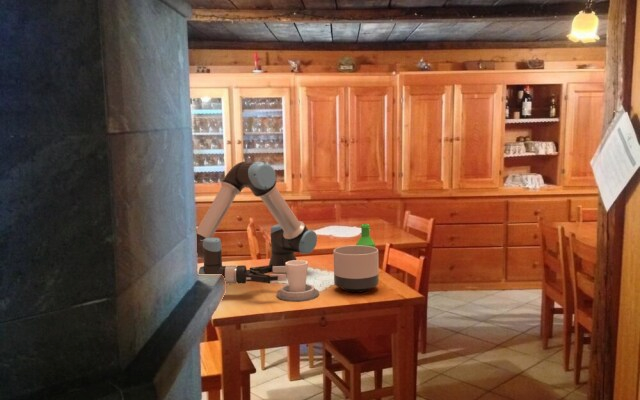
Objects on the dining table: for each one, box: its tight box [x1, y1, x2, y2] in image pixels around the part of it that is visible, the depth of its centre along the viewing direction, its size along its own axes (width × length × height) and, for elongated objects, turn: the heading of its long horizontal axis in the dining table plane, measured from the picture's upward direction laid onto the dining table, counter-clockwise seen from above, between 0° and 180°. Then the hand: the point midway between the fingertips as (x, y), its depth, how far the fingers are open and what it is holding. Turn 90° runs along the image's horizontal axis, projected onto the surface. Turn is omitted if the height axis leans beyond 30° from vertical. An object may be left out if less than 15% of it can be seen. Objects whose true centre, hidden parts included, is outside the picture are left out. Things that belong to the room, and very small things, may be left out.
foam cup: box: [285, 259, 309, 292], centre depth 227 cm, size 10×9×13 cm
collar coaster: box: [276, 283, 320, 302], centre depth 228 cm, size 18×18×3 cm
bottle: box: [355, 223, 376, 248], centre depth 254 cm, size 9×9×25 cm
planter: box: [332, 244, 380, 293], centre depth 233 cm, size 19×19×18 cm
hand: (287, 273), depth 227 cm, fingers open, 13 cm apart
